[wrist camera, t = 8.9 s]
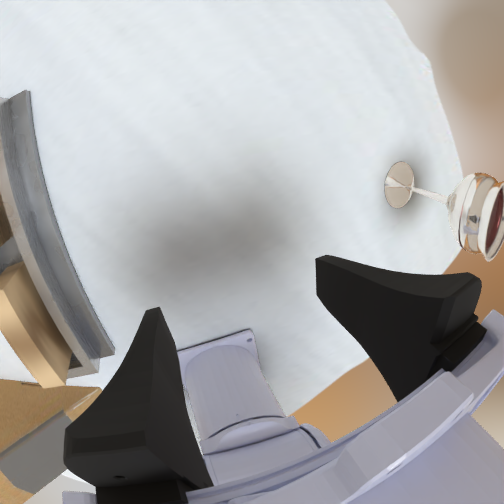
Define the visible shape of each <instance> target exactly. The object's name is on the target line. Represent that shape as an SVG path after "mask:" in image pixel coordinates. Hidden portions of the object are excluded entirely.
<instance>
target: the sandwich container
mask: <svg viewBox="0 0 504 504" xmlns="http://www.w3.org/2000/svg"><path fill="white" fill-rule="evenodd" d="M37 384H38V385H37ZM101 392H102V389H101V388H100V387H79V386H58V387H51V388H44V389H43V388H42V386H41V385H40V384H39V383H31V382H22V381H14V380H4V379H0V504H23V503H24V502H26V501H27V500H28V499H29V498H31V497H32V496H33V495H34V494H36V493H37V492H38V491H40V490H41V489H42V488H43V487H44V486H46V485H47V484H48V483H50V482H51V481H52V480H54V479H55V478H56V477H58V476H59V475H60V474H61V473H63V472H64V471H65V470H66V469H68V468H67V467H66V466H65V465H64V462H63V451H64V435H65V428H66V427H67V426H69V425H70V424H71V423H72V422H73V421H74V420H75V419H77V418H78V417H79V416H80V415H81V414H82V413H83V412H84V411H85V410H86V409H87V408H88V407H89V406H90V405H91V404H92V403H93V402H94V401H95V399H96V398H97V397H98V396H99V395H100V394H101Z"/></svg>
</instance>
